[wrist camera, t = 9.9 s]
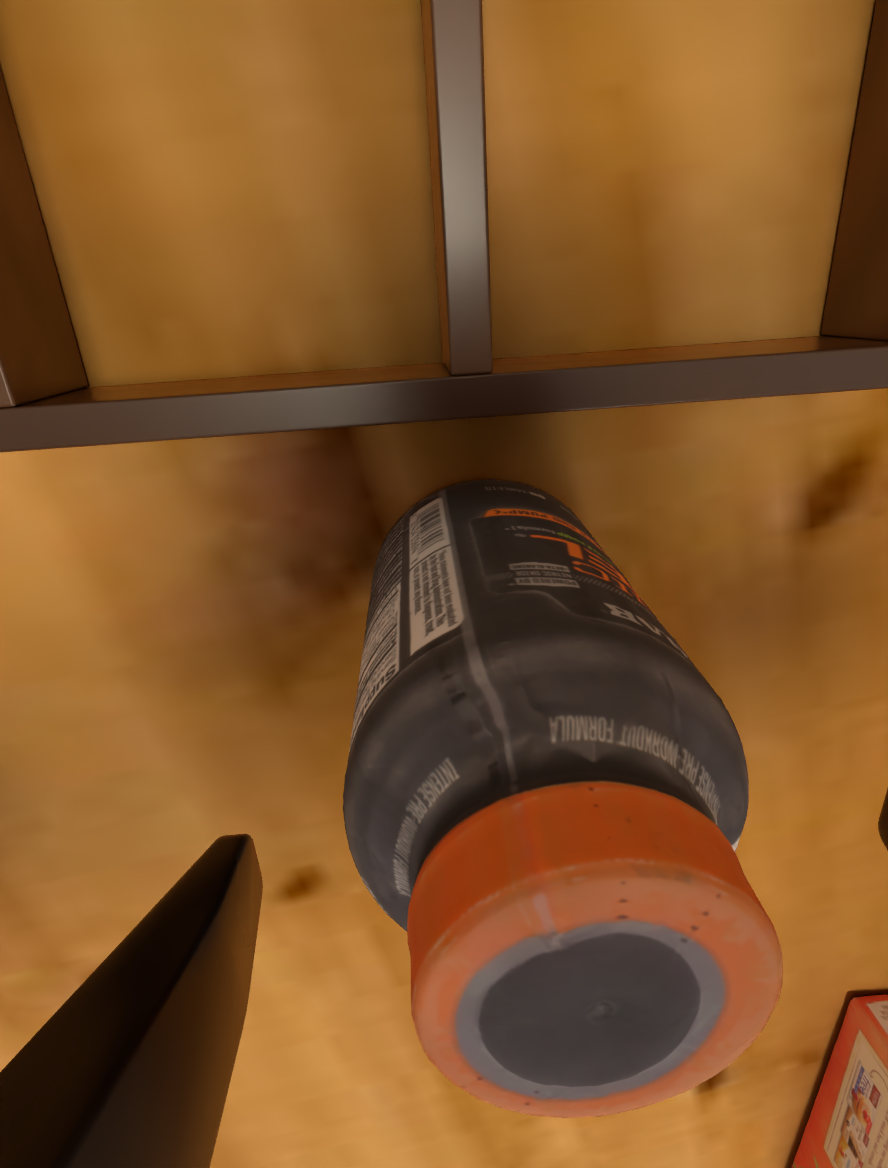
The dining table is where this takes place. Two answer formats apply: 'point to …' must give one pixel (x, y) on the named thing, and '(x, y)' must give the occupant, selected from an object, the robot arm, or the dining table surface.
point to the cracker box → (852, 1095)
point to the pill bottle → (551, 815)
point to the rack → (441, 306)
